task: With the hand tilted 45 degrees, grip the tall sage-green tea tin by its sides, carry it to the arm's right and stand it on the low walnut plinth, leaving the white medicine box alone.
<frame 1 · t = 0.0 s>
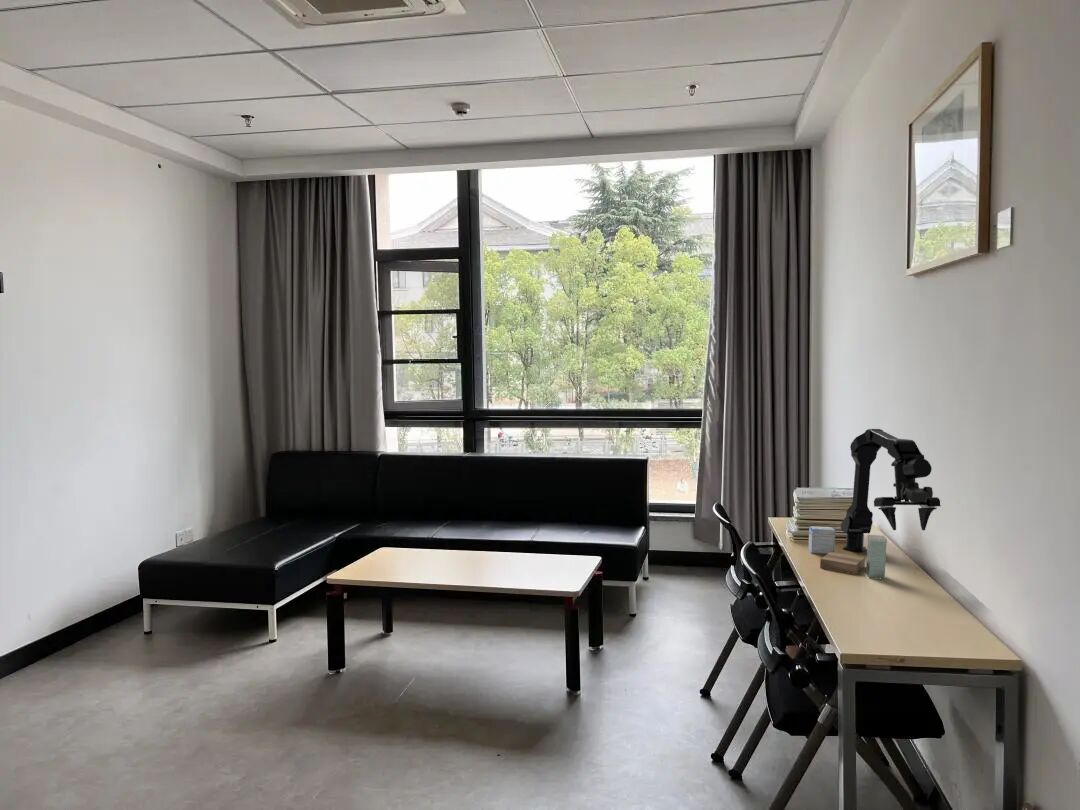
hand: (909, 530, 238), 15 cm above the table, tool pointing down, fingers open, 9 cm apart
tea tin: (875, 576, 242), on the table
plinth: (842, 567, 251), on the table
medicine box: (821, 552, 269), on the table
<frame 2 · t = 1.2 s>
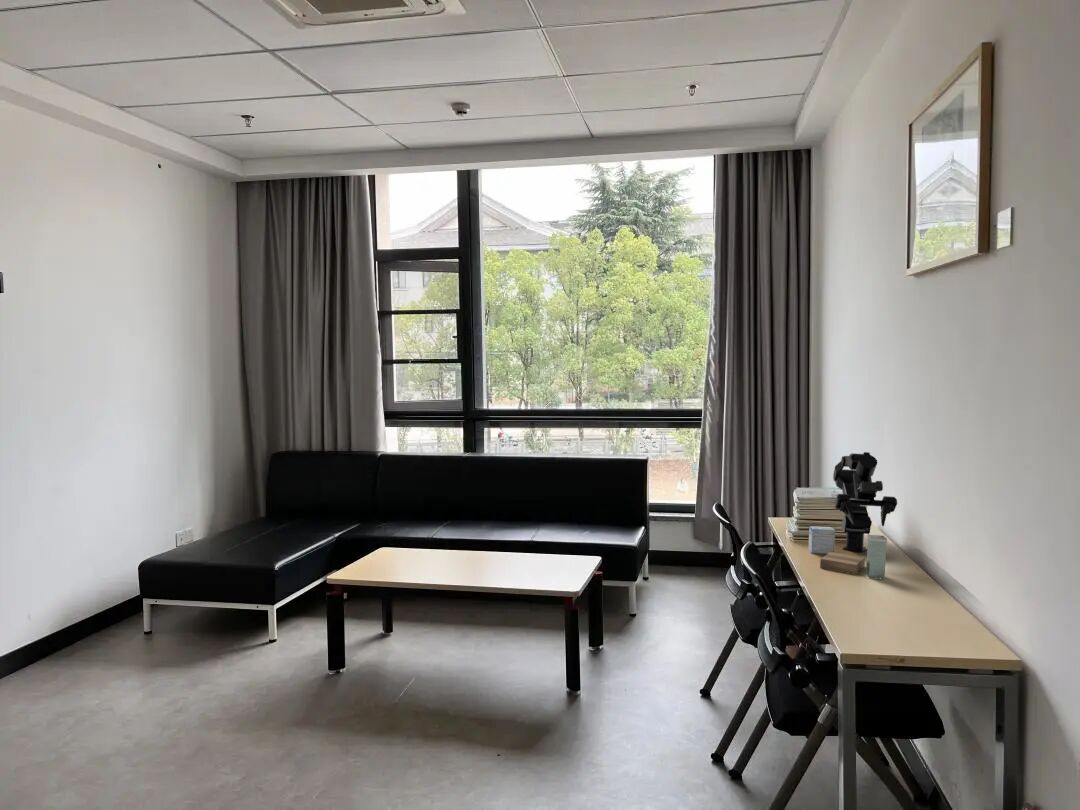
hand: (868, 524, 254), 13 cm above the table, tool tilted 45°, fingers open, 9 cm apart
nothing on the table moved.
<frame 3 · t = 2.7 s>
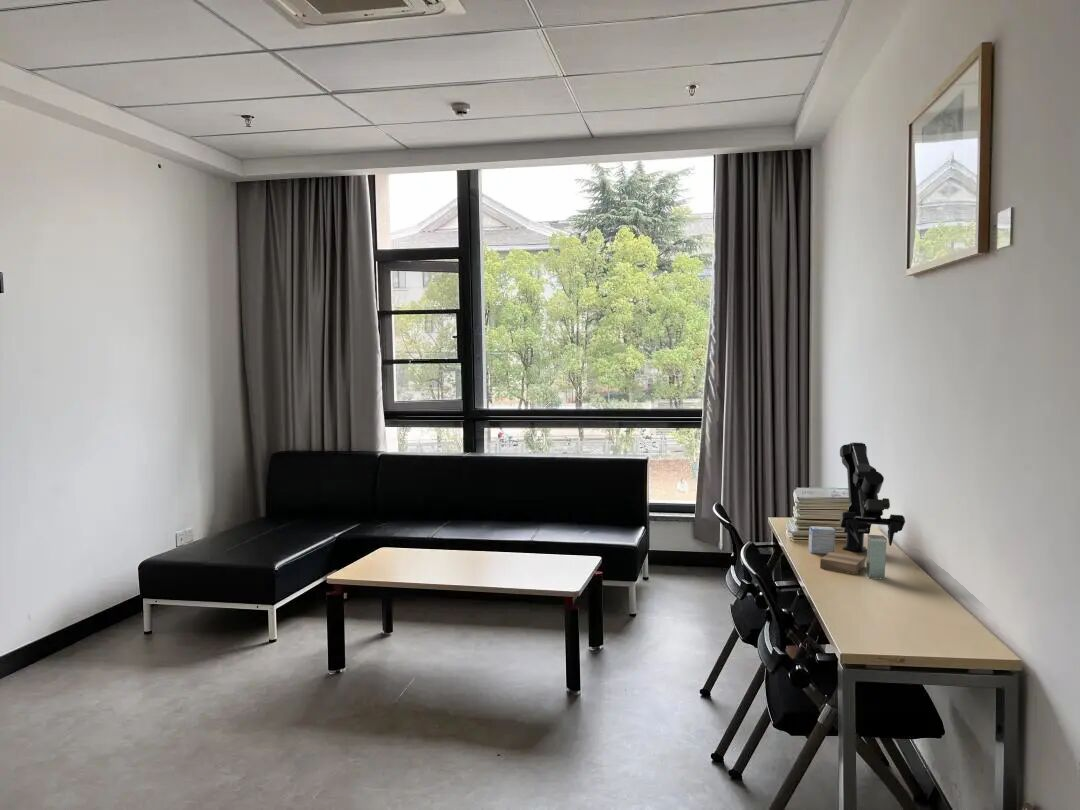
hand: (875, 544, 243), 10 cm above the table, tool tilted 45°, fingers open, 9 cm apart
nothing on the table moved.
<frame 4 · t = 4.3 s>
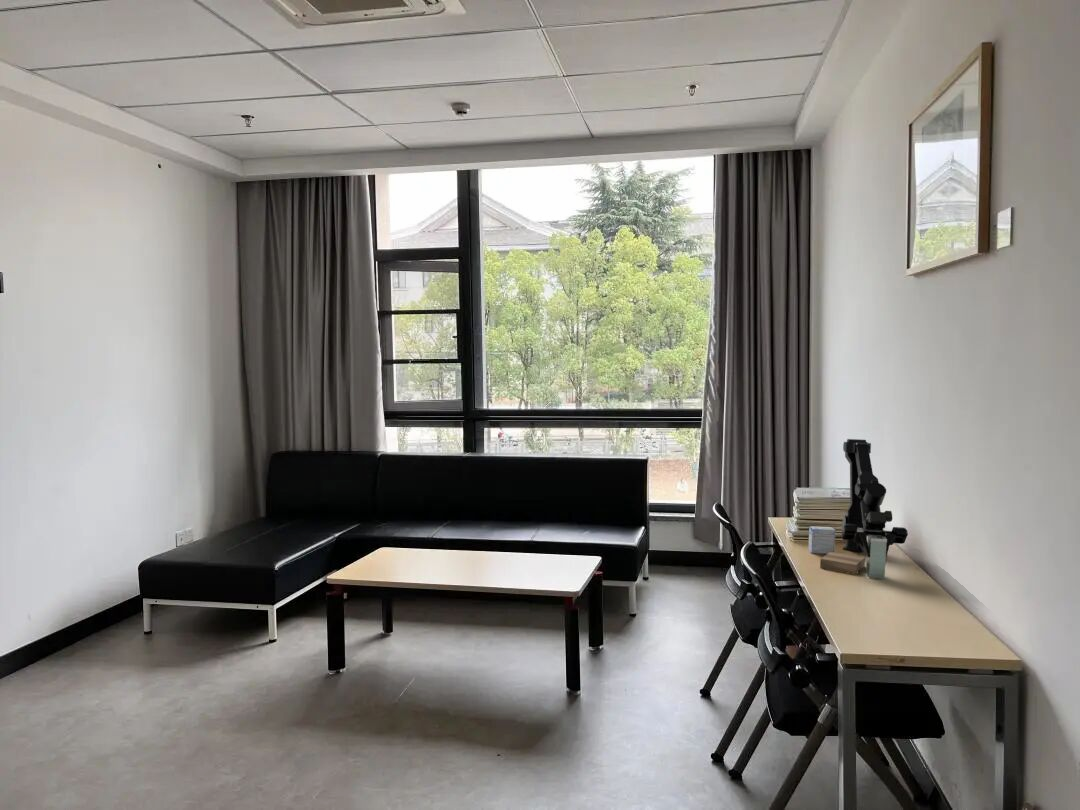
hand: (877, 557, 240), 7 cm above the table, tool tilted 45°, fingers closed on tea tin, 4 cm apart
tea tin: (875, 576, 242), on the table, touching gripper
everything else where it was.
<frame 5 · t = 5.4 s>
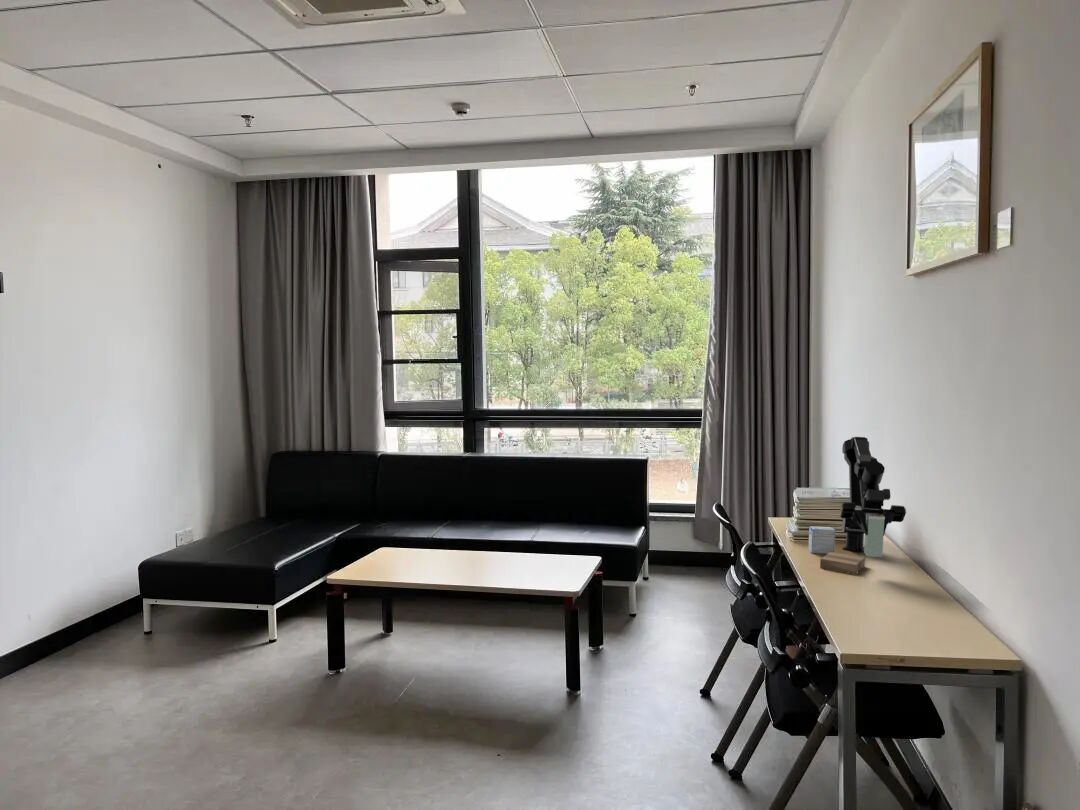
hand: (874, 535, 240), 13 cm above the table, tool tilted 45°, fingers closed on tea tin, 4 cm apart
tea tin: (873, 554, 242), point 7 cm above the table, touching gripper
everything else where it was.
when the fingers open (11 cm above the table, at t = 6.8 s): tea tin drops 1 cm, resting on plinth.
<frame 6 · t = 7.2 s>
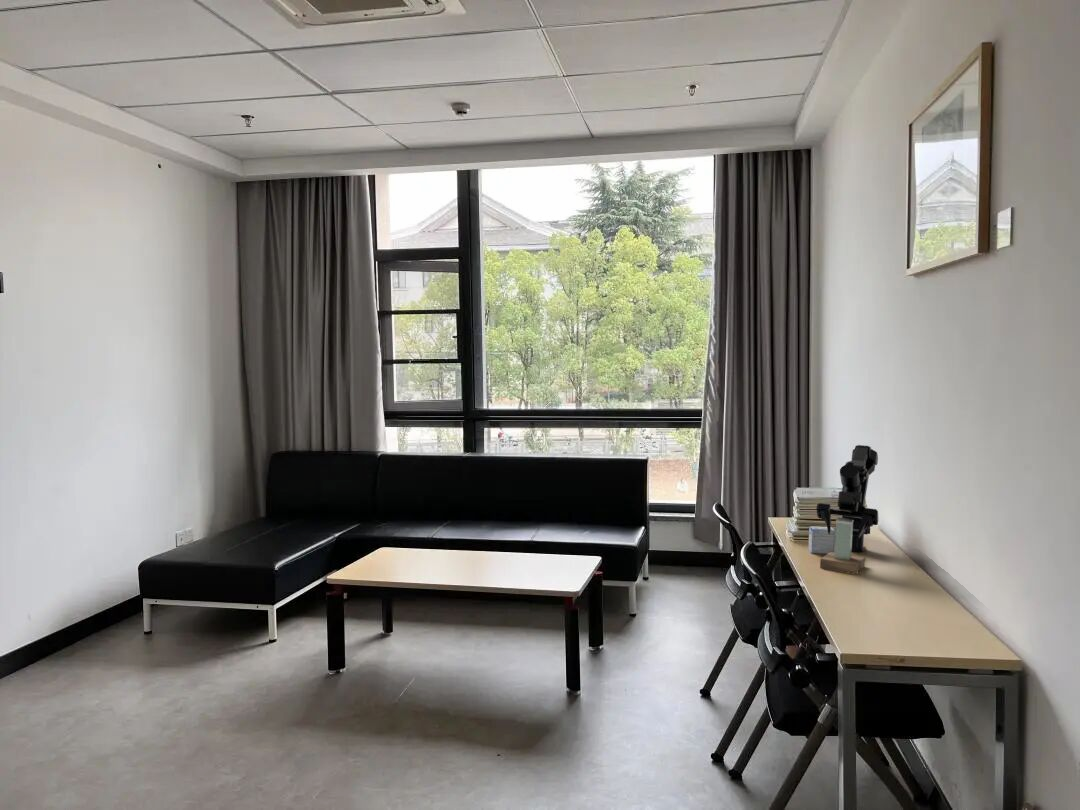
hand: (843, 535, 249), 11 cm above the table, tool tilted 45°, fingers open, 9 cm apart
tea tin: (842, 558, 251), point 3 cm above the table, touching plinth
everything else where it was.
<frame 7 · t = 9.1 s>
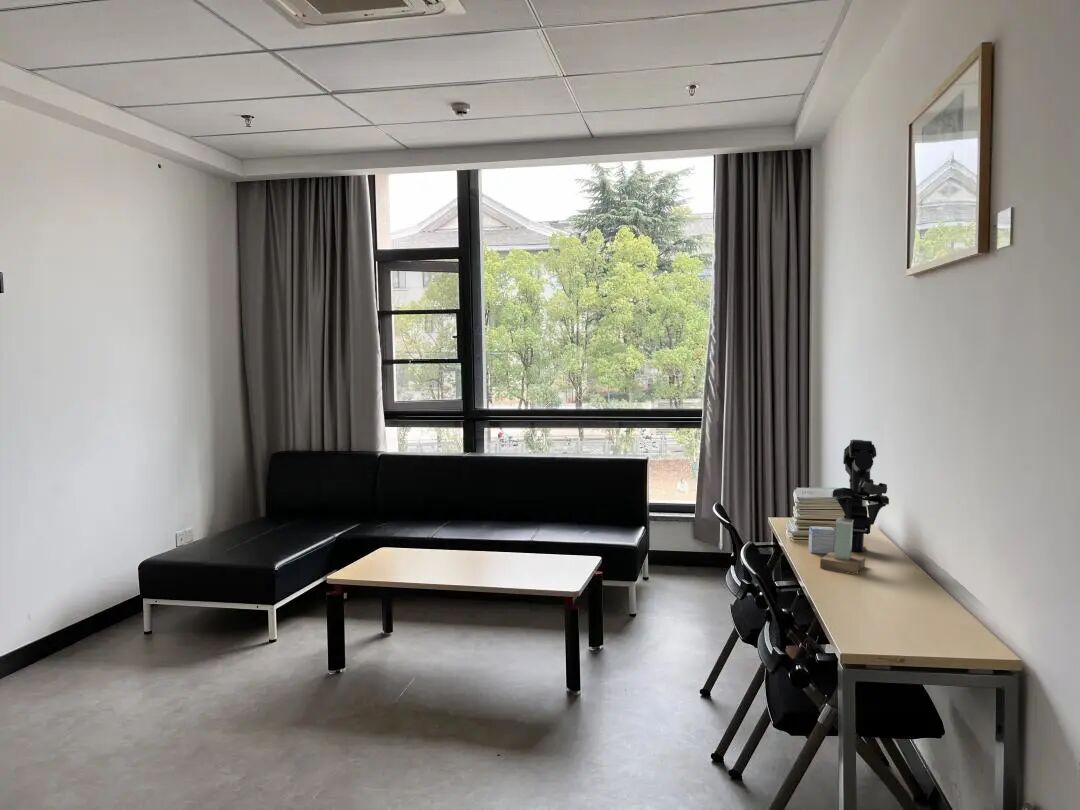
hand: (860, 522, 257), 13 cm above the table, tool tilted 20°, fingers open, 9 cm apart
nothing on the table moved.
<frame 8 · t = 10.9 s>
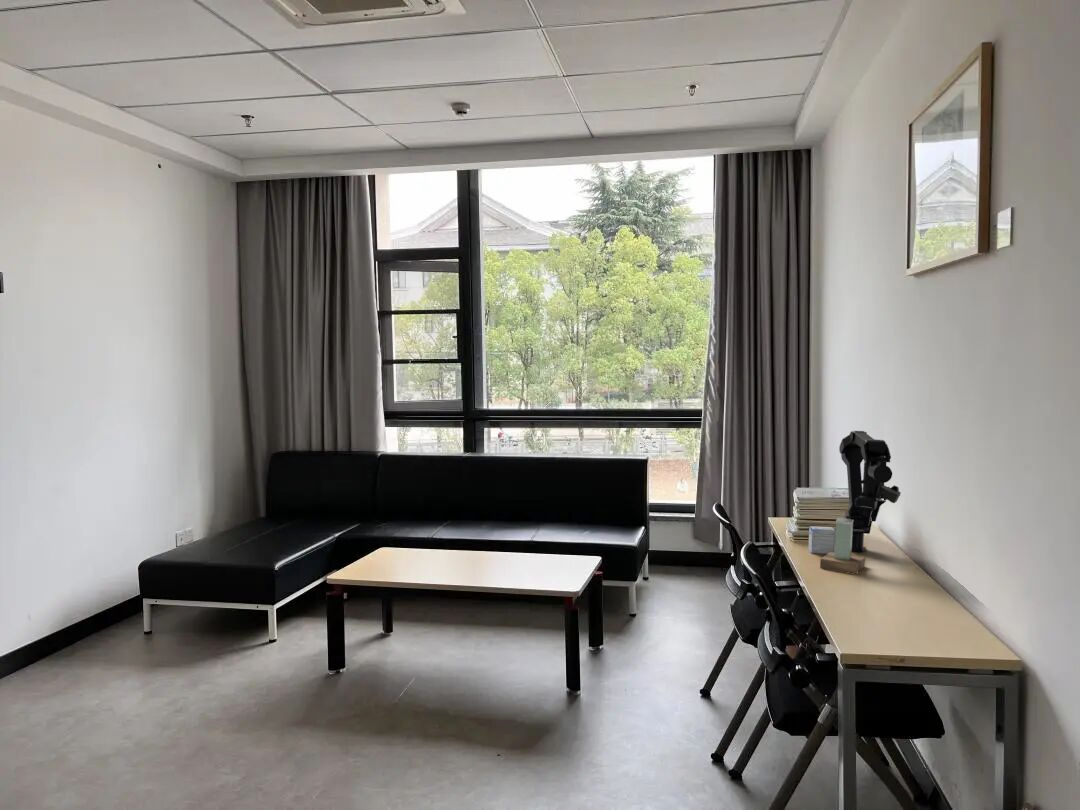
hand: (870, 523, 257), 13 cm above the table, tool pointing down, fingers open, 9 cm apart
nothing on the table moved.
at the end: tea tin inside the target area on the plinth (0.0 cm from its centre), point 3.0 cm above the plinth's base; tea tin tilted 0°; the gripper is holding nothing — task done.
